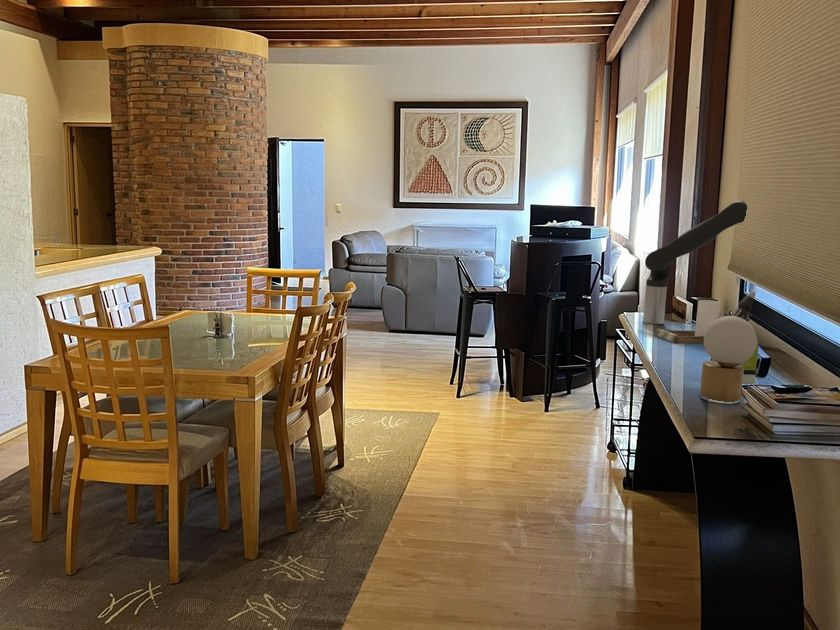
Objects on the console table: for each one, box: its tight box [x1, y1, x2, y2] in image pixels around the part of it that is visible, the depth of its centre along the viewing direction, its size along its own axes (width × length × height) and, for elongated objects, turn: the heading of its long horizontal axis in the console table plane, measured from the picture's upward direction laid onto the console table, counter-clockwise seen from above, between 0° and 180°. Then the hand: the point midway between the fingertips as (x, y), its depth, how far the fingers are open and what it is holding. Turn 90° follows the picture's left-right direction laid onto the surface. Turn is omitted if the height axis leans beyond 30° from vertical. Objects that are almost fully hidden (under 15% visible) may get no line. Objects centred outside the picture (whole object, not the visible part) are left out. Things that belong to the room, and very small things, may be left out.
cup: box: [694, 299, 720, 336], centre depth 328 cm, size 8×8×16 cm
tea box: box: [709, 340, 760, 385], centre depth 256 cm, size 15×10×15 cm
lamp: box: [699, 315, 758, 402], centre depth 227 cm, size 15×14×25 cm
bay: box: [656, 328, 704, 344], centre depth 328 cm, size 15×24×3 cm, turn 101°
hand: (724, 330), depth 331 cm, fingers closed
